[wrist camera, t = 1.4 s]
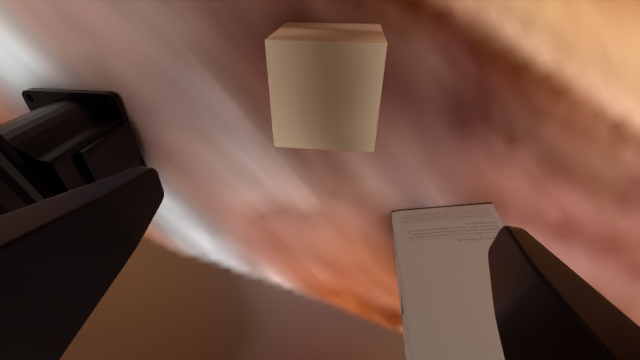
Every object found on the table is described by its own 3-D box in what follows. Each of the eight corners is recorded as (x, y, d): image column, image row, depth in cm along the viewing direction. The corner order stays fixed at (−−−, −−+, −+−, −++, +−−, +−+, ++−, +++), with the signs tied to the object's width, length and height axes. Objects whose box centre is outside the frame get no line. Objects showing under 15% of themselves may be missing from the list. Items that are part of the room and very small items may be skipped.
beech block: (291, 109, 20) (274, 146, 16) (287, 21, 17) (264, 39, 13) (370, 112, 19) (374, 152, 15) (380, 23, 16) (387, 43, 12)
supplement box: (388, 209, 23) (413, 402, 13) (495, 200, 22) (616, 409, 12) (394, 272, 27) (416, 458, 17) (484, 269, 26) (567, 469, 16)
